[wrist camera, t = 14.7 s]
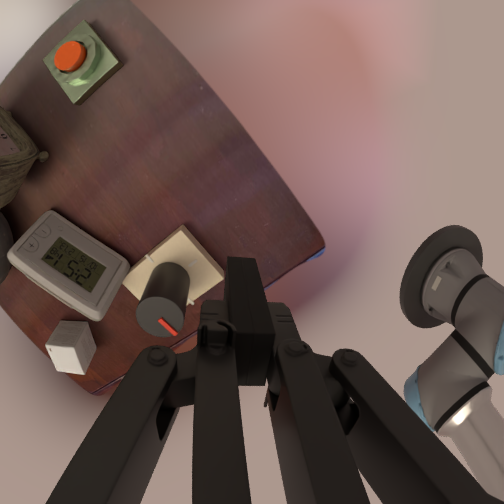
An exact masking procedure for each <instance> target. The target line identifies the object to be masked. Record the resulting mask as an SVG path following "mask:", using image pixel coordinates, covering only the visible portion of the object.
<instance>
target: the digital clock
mask: <svg viewBox="0 0 504 504" xmlns="http://www.w3.org/2000/svg"><path fill="white" fill-rule="evenodd" d="M7 257H8V260H9V261H10V263H11V264H12V265H13V266H15V267H16V268H17V269H18V270H20V271H21V272H22V273H24V274H25V275H26V277H27V278H29V279H30V280H32V281H33V282H34V283H36V284H37V285H38V286H40V287H41V288H43V289H44V290H45V291H47V292H48V293H50V294H51V295H53V296H54V297H55V298H57V299H58V300H60V301H61V302H63V303H64V304H66V305H67V306H69V307H70V308H73V309H75V310H77V311H78V312H80V313H81V314H83V315H85V316H86V317H88V318H90V319H92V320H94V321H100V320H101V319H102V318H103V317H104V315H105V314H106V312H107V310H108V308H109V306H110V304H111V302H112V301H113V299H114V297H115V295H116V293H117V291H118V289H119V288H120V286H121V284H122V282H123V280H124V279H125V277H126V275H127V273H128V271H129V269H130V264H129V263H128V261H127V260H126V259H125V258H124V257H122V256H121V255H119V254H118V253H116V252H115V251H113V250H112V249H110V248H108V247H107V246H105V245H104V244H102V243H101V242H99V241H98V240H96V239H95V238H93V237H91V236H90V235H88V234H87V233H85V232H84V231H82V230H81V229H79V228H78V227H77V226H75V225H74V224H72V223H71V222H69V221H68V220H66V219H65V218H63V217H62V216H60V215H59V214H57V213H56V212H54V211H52V210H50V211H47V212H45V213H44V214H43V215H42V216H41V217H40V218H39V219H38V220H37V221H36V222H35V223H34V224H33V225H32V226H31V227H30V228H29V229H28V230H27V231H26V232H25V233H24V234H23V235H22V236H21V237H20V239H19V240H18V241H17V242H16V243H15V244H14V245H13V246H12V248H11V249H10V250H9V251H8V253H7Z"/></svg>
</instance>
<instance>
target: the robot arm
mask: <svg viewBox="0 0 504 504" xmlns="http://www.w3.org/2000/svg"><path fill="white" fill-rule="evenodd" d="M420 302H421V305H422V307H423V309H424V310H425V311H426V312H427V313H428V314H429V315H431V316H432V317H434V318H437V319H439V320H442V321H444V322H447V323H449V324H452V325H453V326H454V327H455V328H456V329H455V330H454V331H453V332H452V333H451V335H450V336H449V337H448V338H447V339H446V340H445V341H444V342H443V343H442V344H441V345H440V346H439V348H437V349H436V350H435V351H434V353H433V354H432V355H431V356H430V357H429V358H428V359H427V360H426V361H424V363H422V364H421V365H419V366H418V367H417V369H416V371H415V372H414V373H413V374H412V375H411V376H410V377H409V378H408V379H407V380H406V382H405V385H404V396H405V400H406V402H405V401H404V400H403V399H402V398H401V397H400V396H399V395H398V394H397V392H396V391H395V390H394V389H393V388H392V387H391V386H390V385H389V384H388V383H387V382H386V381H385V379H384V378H383V377H382V376H381V375H380V374H379V373H378V372H377V371H376V370H375V369H374V368H373V366H372V365H371V364H370V363H369V362H368V361H367V360H366V359H365V358H364V357H363V356H362V355H361V354H360V353H359V352H357V351H354V350H352V349H339V350H337V351H335V353H334V354H333V356H332V357H330V356H324V355H319V354H316V353H314V352H313V351H312V349H311V348H310V346H309V345H308V344H307V343H305V342H304V341H301V338H300V336H299V333H298V331H297V328H296V325H295V323H294V320H293V317H292V314H291V312H290V309H289V308H288V307H287V306H286V305H285V304H284V303H275V302H267V300H266V296H265V292H264V289H263V285H262V281H261V278H260V274H259V271H258V267H257V263H256V260H255V258H243V257H228V256H227V266H226V277H225V289H224V301H219V300H206V301H205V302H204V303H203V304H202V305H201V314H200V324H199V327H198V332H197V345H196V347H194V348H193V349H192V350H190V351H188V352H184V353H180V354H175V352H174V351H173V350H172V349H170V348H168V347H165V346H158V345H157V346H150V347H148V348H145V349H144V350H143V351H142V352H141V353H140V354H139V355H138V357H137V358H136V360H135V361H134V363H133V364H132V366H131V367H130V369H129V370H128V372H127V373H126V375H125V376H124V378H123V379H122V381H121V382H120V384H119V386H118V387H117V389H116V390H115V392H114V393H113V395H112V396H111V398H110V399H109V401H108V402H107V404H106V406H105V407H104V409H103V410H102V412H101V413H100V415H99V416H98V418H97V419H96V421H95V423H94V424H93V426H92V428H91V429H90V431H89V432H88V434H87V436H86V437H85V439H84V441H83V442H82V443H81V445H80V447H79V448H78V450H77V451H76V453H75V455H74V456H73V458H72V460H71V461H70V463H69V465H68V466H67V468H66V470H65V471H64V473H63V475H62V476H61V478H60V480H59V481H58V483H57V485H56V486H55V488H54V490H53V492H52V493H51V495H50V497H49V499H48V500H47V502H46V504H140V503H141V500H142V498H143V496H144V493H145V490H146V488H147V486H148V483H149V481H150V479H151V476H152V474H153V471H154V469H155V467H156V464H157V462H158V459H159V457H160V454H161V452H162V450H163V447H164V445H165V443H166V440H167V438H168V436H169V433H170V431H171V428H172V426H173V423H174V421H175V419H176V416H177V414H178V412H179V408H180V407H183V406H188V405H193V404H194V420H193V456H192V458H193V459H192V504H251V496H250V488H249V480H248V472H247V463H246V456H245V446H244V437H243V428H242V419H241V409H240V400H239V389H238V386H265V383H266V378H267V381H268V389H267V393H266V397H265V402H264V407H267V403H268V406H269V411H270V417H271V422H272V427H273V433H274V438H275V443H276V449H277V454H278V459H279V464H280V470H281V475H282V480H283V485H284V490H285V495H286V501H287V504H370V501H369V499H368V496H367V493H366V490H365V487H364V485H363V482H362V479H361V477H360V474H359V471H360V472H361V474H362V475H363V477H364V478H365V479H366V481H367V482H368V484H369V485H370V486H371V488H372V489H373V491H374V492H375V493H376V495H377V496H378V498H379V499H380V500H381V502H382V503H383V504H504V419H503V418H502V416H501V415H500V413H499V412H498V411H497V410H496V408H495V407H494V406H493V404H492V403H491V394H492V388H491V387H490V386H489V384H488V383H487V381H488V379H489V378H490V377H491V376H492V375H493V374H494V373H496V374H499V375H503V374H504V287H503V286H502V285H501V284H499V283H498V282H496V281H495V280H493V279H492V278H490V277H489V276H488V275H487V274H485V272H484V270H483V269H482V267H481V266H480V264H479V263H478V261H477V260H476V259H475V257H474V256H473V255H472V254H471V253H470V252H469V251H467V250H466V249H464V248H462V247H453V248H450V249H448V250H446V251H444V252H443V253H442V254H440V255H439V256H438V257H437V258H436V259H435V260H434V262H433V263H432V264H431V266H430V267H429V269H428V270H427V272H426V274H425V276H424V279H423V281H422V284H421V288H420ZM350 397H351V398H352V400H353V401H354V402H353V401H352V400H351V399H350ZM434 431H436V432H437V434H438V435H439V436H444V437H450V438H452V440H453V442H454V443H455V445H456V446H457V448H458V449H459V451H460V453H461V454H462V456H463V457H464V459H465V461H466V462H467V464H468V466H469V467H470V469H471V471H472V472H473V474H474V476H475V477H476V479H477V481H478V482H479V483H478V482H477V481H476V480H475V479H474V477H473V476H472V475H471V474H470V473H469V472H468V471H467V470H466V468H465V467H464V466H463V465H462V464H461V463H460V462H459V461H458V459H457V458H456V457H455V456H454V455H453V454H452V453H451V452H450V451H449V449H448V448H447V447H446V446H445V445H444V444H443V443H442V442H441V441H440V440H439V439H438V437H437V436H436V435H435V434H434V433H433V432H434ZM358 469H359V471H358Z"/></svg>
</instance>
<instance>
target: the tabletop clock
mask: <svg viewBox="0 0 504 504" xmlns="http://www.w3.org/2000/svg"><path fill="white" fill-rule="evenodd" d="M39 153H40V152H39V150H38V148H37V146H36V145H35V143H34V142H33V141H32V139H31V138H30V137H29V136H28V135H27V133H26V132H25V131H24V130H23V128H22V127H21V126H20V125H19V124H18V123H17V122H16V121H15V120H14V119H13V118H12V113H11V112H10V111H6V110H4V109H3V108H2V107H1V106H0V208H2V207H4V206H5V205H7V204H8V203H10V202H11V201H12V200H13V199H14V197H15V196H16V194H17V192H18V190H19V188H20V186H21V184H22V182H23V181H24V179H25V177H26V175H27V173H28V171H29V170H30V168H31V166H32V164H33V163H34V161H35V160H37V159H39V160H40V161H41V162H45V161H47V159H48V157H49V155H48V153H47V152H46V151H43V152H41V153H40V154H39ZM38 154H39V156H38Z"/></svg>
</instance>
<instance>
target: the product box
mask: <svg viewBox="0 0 504 504" xmlns="http://www.w3.org/2000/svg"><path fill="white" fill-rule="evenodd" d="M45 346H46V348H47V350H48V352H49V355H50V357H51V359H52V361H53V363H54V365H55V367H56V369H57V371H61V372H68V373H76V374H83V375H85V373H86V371H87V369H88V366H89V364H90V362H91V359H92V357H93V355H94V353H95V350H96V345H95V342H94V339H93V336H92V333H91V330H90V327H89V324H88V322H82V321H60V322H59V324H58V325H57V327H56V328H55V330H54V332H53V333H52V335H51V336H50V338H49V339H48V341H47V343H46V344H45Z"/></svg>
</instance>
